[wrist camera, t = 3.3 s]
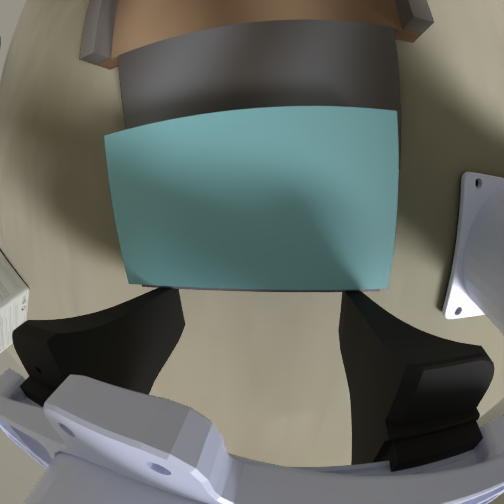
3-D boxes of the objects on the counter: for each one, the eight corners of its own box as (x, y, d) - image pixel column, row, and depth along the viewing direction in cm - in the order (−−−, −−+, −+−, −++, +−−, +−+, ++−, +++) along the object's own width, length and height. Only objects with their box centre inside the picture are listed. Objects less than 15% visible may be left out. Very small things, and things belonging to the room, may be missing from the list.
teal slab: (367, 120, 10) (396, 110, 7) (364, 261, 13) (385, 303, 9) (152, 135, 12) (104, 135, 8) (168, 261, 14) (132, 296, 11)
